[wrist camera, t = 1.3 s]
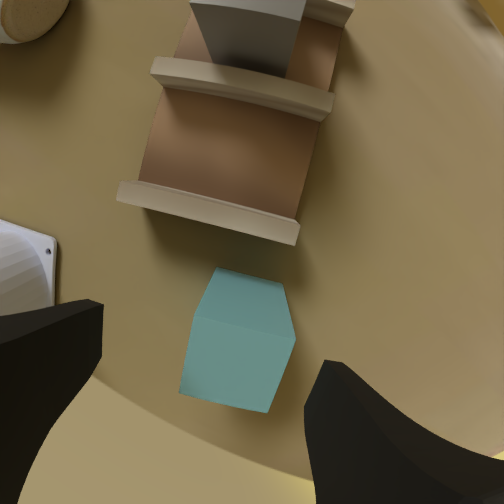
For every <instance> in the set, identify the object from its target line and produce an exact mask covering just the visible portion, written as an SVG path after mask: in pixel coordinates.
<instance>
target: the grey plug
mask: <svg viewBox="0 0 504 504" xmlns="http://www.w3.org/2000/svg"><path fill="white" fill-rule="evenodd" d="M306 1H307V0H190V2H189V3H190V5H191V8H192V10H193V13H194V15H195V18H196V20H197V23H198V25H199V28H200V31H201V33H202V36H203V38H204V41H205V43H206V46H207V49H208V51H209V54H210V56H211V59H212V62H213V63H214V64H219V65H225V66H230V67H236V68H241V69H245V70H250V71H255V72H259V73H263V74H268V75H272V76H276V77H280V78H283V79H285V76H286V72H287V68H288V65H289V61H290V58H291V54H292V51H293V47H294V44H295V40H296V37H297V33H298V30H299V26H300V23H301V19H302V15H303V12H304V8H305V5H306Z"/></svg>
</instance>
